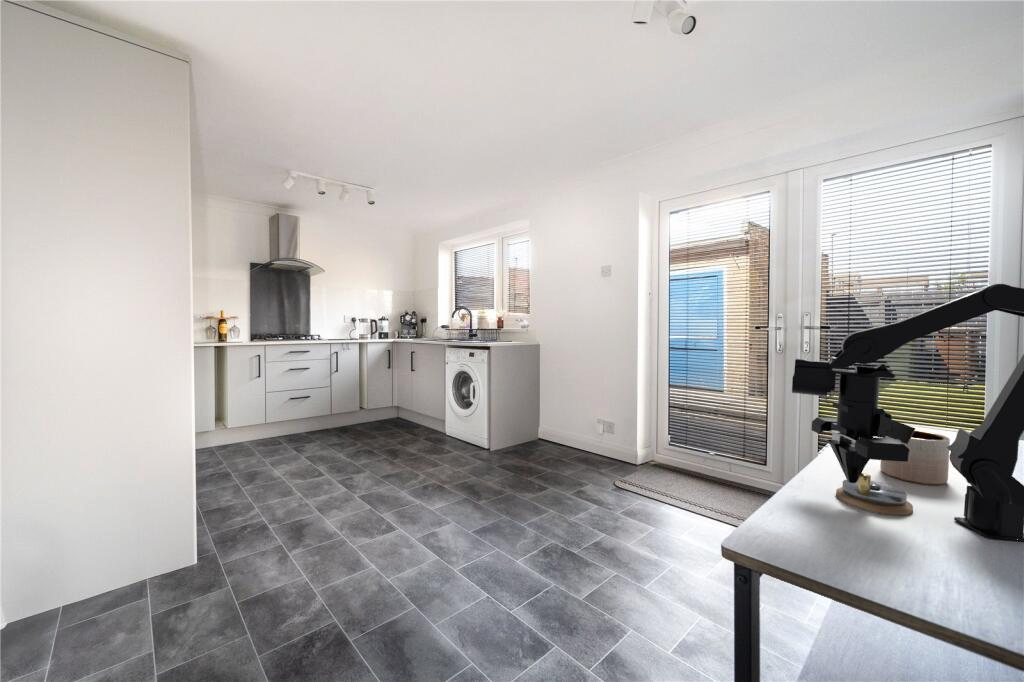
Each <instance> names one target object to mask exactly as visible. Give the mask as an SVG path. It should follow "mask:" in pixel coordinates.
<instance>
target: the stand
mask: <svg viewBox="0 0 1024 682" xmlns="http://www.w3.org/2000/svg"><path fill="white" fill-rule="evenodd" d="M835 496H836V497H837V499H838V500H839V501H841V502H842V503H845V504H847V505H849V506H851V507H854V508H857V509H860V510H864V511H867V512H871V513H876V514H880V515H886V516H902V517H903V516H909V515H912V514H913V513H914V511H913V510H914V505H913V504H912V503H910V501H908V500H907V501H906V504H905V505H902V506H886V505H879V504H874V503H870V502H866V501H862V500H859V499H856V498H854V497H851V496H849V495H847V494H846V493H844V492H843V490H842V487H838V488H837V489H836V491H835Z"/></svg>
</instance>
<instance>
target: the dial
mask: <svg viewBox="0 0 1024 682" xmlns="http://www.w3.org/2000/svg"><path fill="white" fill-rule="evenodd" d="M842 490H843V492H844V493H846V494H847V495H849V496H851V497H854V498H856V499H859V500H862V501H866V502H870V503H874V504H879V505H886V506H902V505H905V504H906V501H908V500H907V499H908V495H907V493H906V492H905V491H904V490H902V489H900V488H898V487H895V486H892V485H890V484H886V483H883V482H879V481H873V480H872V475H870V474H869V473H864V472H862V473H858V480H857V482H856V483H850V482H848V481H847V479H844V480H842Z"/></svg>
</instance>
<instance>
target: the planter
mask: <svg viewBox="0 0 1024 682" xmlns="http://www.w3.org/2000/svg"><path fill="white" fill-rule="evenodd" d="M885 438H890V437H888V436H886V437H885ZM890 439H892V440H895V441H897V442H900V443H902V444H904V445H905V446H906V447H907V448H908V449H909V450H910V455H909V461H908V462H902V461H887V460H880V470H881V472H883V473H884V474H885V475H887V476H888V477H891V478H894V479H897V480H900V481H904V482H908V483H913V484H918V485H919V484H920V485H925V486H940V485H944V484H946V483H947V482H948V480H949V467H950V466H949V461H950V457H949V456H950V450H949V449H948V448H947V447H948V446H950V445H951V439H950V438H949V437H948V436H945V435H943V434H939V433H935V432H930V431H927V430H920V429H919V430H918V429H915V431H914V433H913V435H912V437H911V439H910V441H909V443H908V444H905V443H903V442H901V440H898V439H897V440H896V439H893V438H890Z"/></svg>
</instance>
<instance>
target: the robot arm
mask: <svg viewBox="0 0 1024 682" xmlns="http://www.w3.org/2000/svg"><path fill="white" fill-rule="evenodd" d="M994 311H997V312H1003V313H1005V314H1009V315H1013V316H1017V317H1022V318H1024V288H1023V287H1019V286H1018V287H1016V286H1013V285H1009V284H1006V283H995V284H990V285H989V284H988V285H985V286H982V287H980V288H978V289H977V290H975V291H974V292H971V293H968V294H965V295H964V296H960V297H959V298H956V299H953V300H950V301H948V302H946V303H943V304H941V305H938V306H936V307H933V308H930V309H927V310H925V311H923V312H920V313H918V314H917V313H916V314H914V315H912V316H909V317H907V318H904V319H902V320H900V321H896V322H892V323H888V324H883V325H880V326H874V327H870V328H866V329H862V330H857V331H854V332H851V333H849V334H847V335H846V336H845V337H844V338H843V339H842V342H841V345H840V348H841V349H840V350H839V351H837V353H835V354H834V355H833V356H830V357H831V358H830V359H829V360H827V361H824V360H808V359H805V358H795V360H794V370H793V371H794V373H793V374H792V381H791V385H792V386H791V393H792V394H799V395H808V396H816V397H817V396H819V397H828V393H831V392H833V393H834V392H835V391H836V375H839V385H838V397H837V398H838V399H837V401H832V408H835V409H837V412H836V417H816V418H814V419H813V420H811V431H812V432H815V433H816V434H820V435H821V434H823V432H829V433H831V439H827V441H826V442H827V443H828V444H829V445H830V448H831V449H832V451H833V453H834V456H835V457H836V459H837V461H838V464H839V465H840V466H839V467H840V469H841V470H842V473H843V474H844V476H845V478H846V479H845V480H847V481H848V482H850V483H856V482H857V480H858V473H863V471H864V469H865V467H866V466H867V464H869V463H868V462H869V461H870V460H874V461H881V460H887V461H902V462H908V461H909V455H910V450H909V449H908V448H907V447H906V446H905V445H904V444H902V443H900V442H897V441H895V440H892V439H890V438H893V439H896V440H897V439H898V440H901V442H903V443H905V444H908V443H909V441H910V439H911V437H912V435H913V433H914V431H915V430H916V428H915V427H913V426H910V425H907V424H905V423H903V422H899V421H896V420H894V419H893V418H892V413H888V412H886V411H885V408H883V407H880V406H878V405H879V396H880V395H879V394H880V380H881V378H884V379H885V378H886V379H894V378H895V377H896V375H895V374H894V373H893V372H892V371H890V370H889V369H888V368H887V365H886V364H885V363H883V362H882V363H881V362H880V363H879V364H877V366H864V365H867V364H871V363H872V364H873V363H875V362H877V361H878V360H881V359H882V358H884V357H886V356H888V355H890V354H892V353H893V352H895V351H896V350H898V349H900V348H902V347H903V346H905V345H906V344H908V343H910V342H912V341H915V340H917V339H920V338H922V337H925V336H928V335H930V334H933V333H936V332H940V331H942V330H944V329H947V328H949V327H953V326H955V325H959V324H961V323H964V322H966V321H969V320H972V319H974V318H977V317H980V316H983V315H986V314H989V313H991V312H994ZM855 364H858V365H856V366H855V369H854V370H849V369H847V370H846V368H848V367H850V366H853V365H855ZM860 364H861V365H860ZM835 368H836V369H835ZM1023 434H1024V353H1023V355H1022V356H1021V357H1020V360H1019V361H1018V363H1017V364H1016V366H1015V368H1014V369H1013V371H1012V373H1011V374H1010V376H1009V377H1008V380H1007V381H1006V383H1005V384H1004V386H1003V388H1002V389H1001V390H1000V393H999V395H998V396H997V398H996V399H995V401H994V402H993V404H992V406H991V408H990V409H989V411H988V413H987V414H986V415H985V418H984V419H983V421H982V422H981V423H980V424H979V425H978V426H977V427H975V428H974V429H973V430H971V431H970V432H969V431H967V430H965V429H963V428H961V427H960V428H958V431H957V433H956V436H955V439H954V440H953V442H952V443H950V445H949V446H948V447H947V448H948V449H949V461H950V463H951V464H952V467H953V468H954V469H955V470H956V471H957V472H958V473H959V474H960V475H961V476H962V477H964V479H965V481H966V482H967V484H969V485H966V493H965V495H964V508H963V509H964V510H963V517H959V516H958V517H957V516H955V517H954V518H953V520H954V521H955V522H957V523H959V524H961V525H963V526H965V527H966V528H968V529H970V530H972V531H974V532H976V533H978V534H979V535H982V536H983V537H985V538H988V539H997V540H1005V541H1006V540H1008V541H1010V540H1011V541H1018V540H1024V484H1022V483H1021V482H1020V481H1019V480H1017V478H1016V477H1014V476H1013V475H1014V471H1015V468H1016V466H1017V462H1018V458H1019V457H1018V456H1019V444H1020V438H1021V437H1022V436H1023ZM886 436H888V437H890V438H885V437H886ZM1017 539H1018V540H1017Z"/></svg>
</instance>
